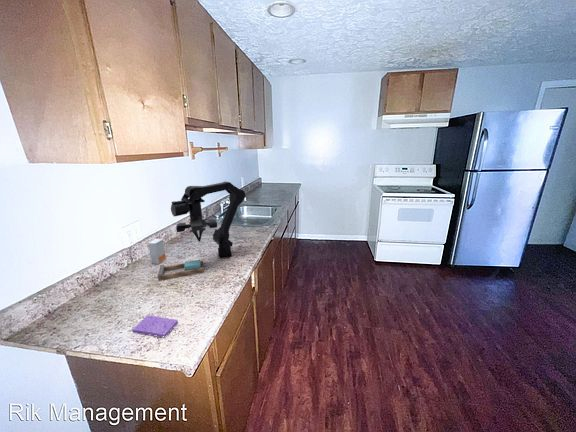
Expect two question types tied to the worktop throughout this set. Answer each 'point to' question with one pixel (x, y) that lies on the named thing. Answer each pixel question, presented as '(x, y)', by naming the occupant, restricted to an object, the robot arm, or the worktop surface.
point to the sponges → (155, 325)
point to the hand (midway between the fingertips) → (199, 241)
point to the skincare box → (157, 251)
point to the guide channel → (177, 274)
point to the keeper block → (192, 265)
